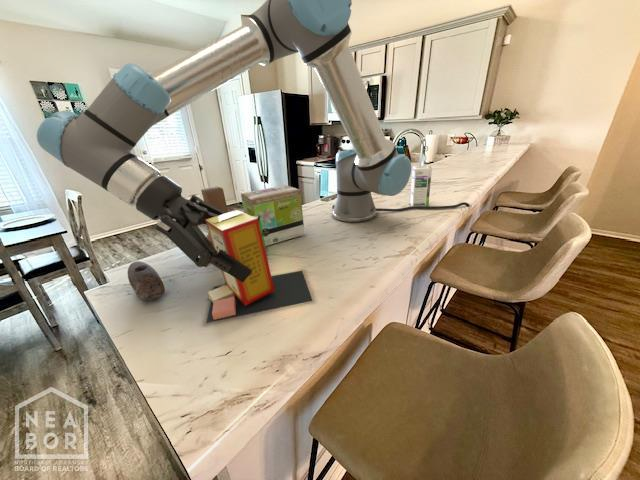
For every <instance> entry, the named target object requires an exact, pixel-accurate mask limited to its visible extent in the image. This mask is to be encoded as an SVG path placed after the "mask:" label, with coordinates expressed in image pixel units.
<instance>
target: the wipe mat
mask: <svg viewBox="0 0 640 480" xmlns="http://www.w3.org/2000/svg"><path fill="white" fill-rule="evenodd" d="M271 277H272V281H273V285H274V290H275V291H273V292H271V293H269V294H267V295H265V296H263V297H261V298H259V299H257V300H256V301H254V302H252V303H250V304H248V305H246V306H245V305H244V304H243V303H242V302H241V301H240V300H239V299H238V298H237V297H236V296H235V295H234V297H235V300H236V315H233V316H229V317H224V318H220V319H216V320H214V319H213V316H212V310H213V302H212V301H211V300H210V304H209V309H208V313H207V316H206V321H205V323H206V324H208V323H209V324H210V323H213V322H218V321H222V320H223V321H224V320H227V319H228V320H229V319H232V318H237V317H241V316H246V315H252V314H256V313H261V312H266V311H271V310H276V309H281V308H285V307H290V306H295V305H299V304H305V303H309V302H313V298H312V295H311V292H310V289H309V287H308V284H307V280H306V278H305V275H304V273H303V270H299V271H294V272H287V273H282V274H277V275H271ZM224 285H225V284H223V285H218V286H214V287H213V290H214V289H217V288H219V287H221V286H224Z"/></svg>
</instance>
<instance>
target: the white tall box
mask: <svg viewBox="0 0 640 480" xmlns="http://www.w3.org/2000/svg"><path fill="white" fill-rule="evenodd" d="M432 172H433V167H431V165H416V166H414V165H413V166H412V168H411V185H410V186H411V188H410V201H409V202H410V205H411V206H410V207H412V206H429V203H430V193H431V183H432Z"/></svg>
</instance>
